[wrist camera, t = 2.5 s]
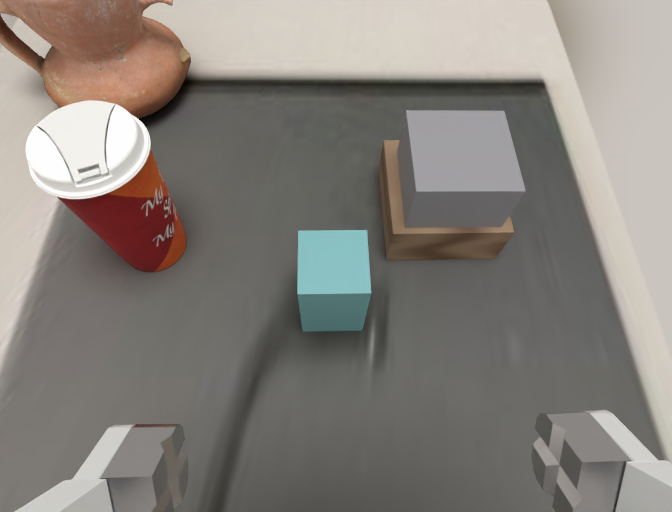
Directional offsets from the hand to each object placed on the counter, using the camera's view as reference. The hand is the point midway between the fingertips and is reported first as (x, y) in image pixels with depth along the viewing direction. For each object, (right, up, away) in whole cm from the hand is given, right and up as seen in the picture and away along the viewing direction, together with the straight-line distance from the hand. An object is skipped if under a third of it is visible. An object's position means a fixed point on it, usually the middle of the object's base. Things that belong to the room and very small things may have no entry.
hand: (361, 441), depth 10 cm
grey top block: (+9, +10, +28) cm, 31 cm away
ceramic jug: (-25, +23, +40) cm, 52 cm away
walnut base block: (+9, +8, +33) cm, 35 cm away
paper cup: (-17, +5, +30) cm, 35 cm away
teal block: (-1, 0, +28) cm, 28 cm away
